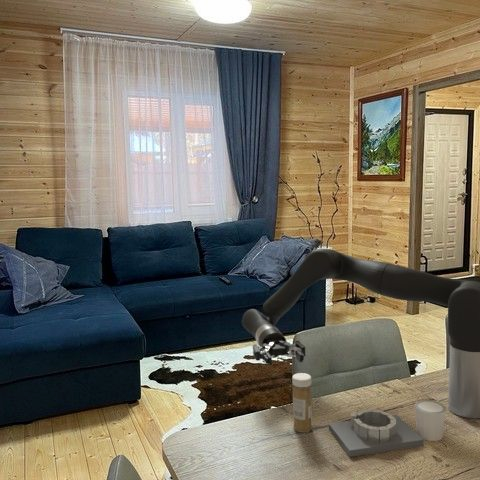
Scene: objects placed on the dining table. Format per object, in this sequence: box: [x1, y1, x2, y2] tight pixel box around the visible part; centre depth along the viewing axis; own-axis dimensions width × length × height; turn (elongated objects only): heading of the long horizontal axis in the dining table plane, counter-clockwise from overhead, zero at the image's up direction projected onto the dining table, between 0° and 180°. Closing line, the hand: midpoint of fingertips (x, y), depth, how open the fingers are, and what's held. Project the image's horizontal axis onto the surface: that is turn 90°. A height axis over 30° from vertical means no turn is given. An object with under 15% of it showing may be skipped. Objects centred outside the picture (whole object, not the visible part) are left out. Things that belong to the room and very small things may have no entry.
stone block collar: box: [350, 408, 396, 442], centre depth 113 cm, size 9×10×3 cm
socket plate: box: [328, 413, 425, 458], centre depth 113 cm, size 18×12×2 cm, turn 101°
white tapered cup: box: [414, 399, 447, 442], centre depth 113 cm, size 7×7×7 cm
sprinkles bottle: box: [291, 372, 313, 434], centre depth 117 cm, size 5×5×13 cm
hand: (286, 360), depth 128 cm, fingers open, 8 cm apart
